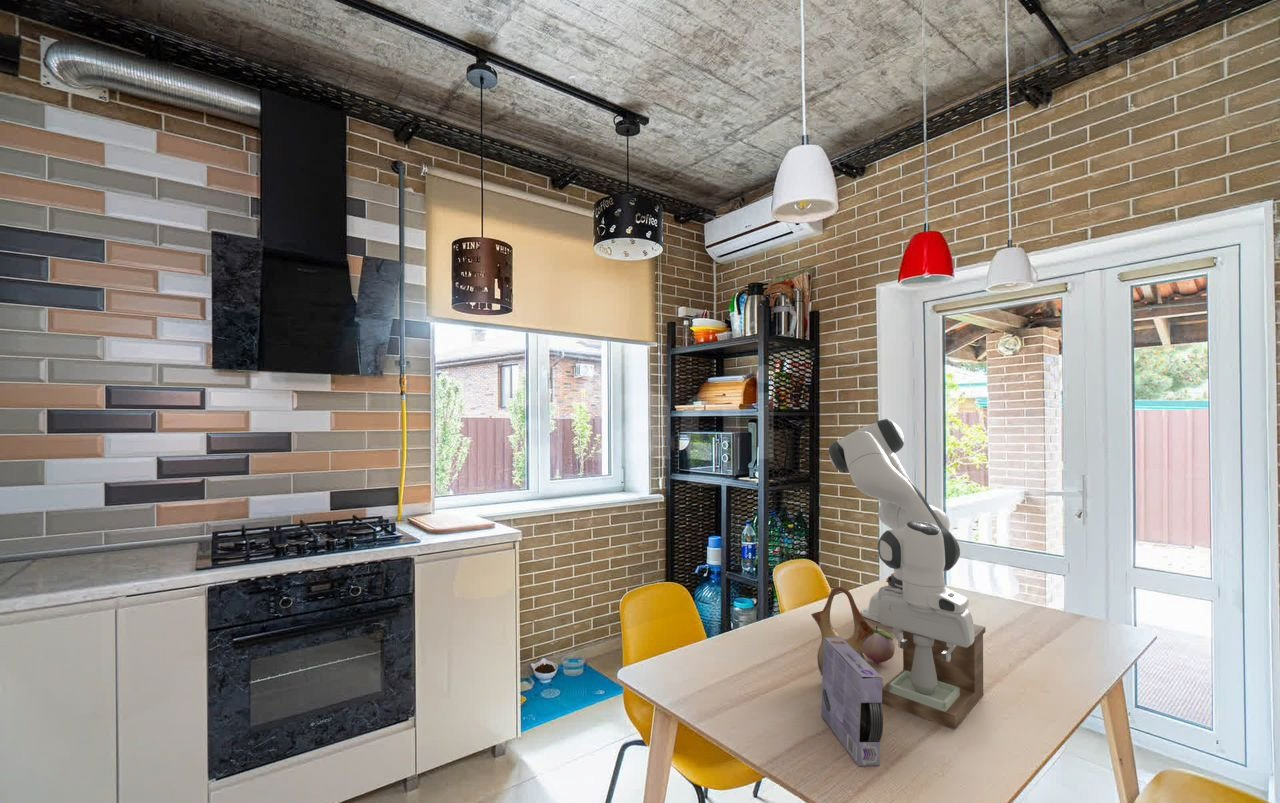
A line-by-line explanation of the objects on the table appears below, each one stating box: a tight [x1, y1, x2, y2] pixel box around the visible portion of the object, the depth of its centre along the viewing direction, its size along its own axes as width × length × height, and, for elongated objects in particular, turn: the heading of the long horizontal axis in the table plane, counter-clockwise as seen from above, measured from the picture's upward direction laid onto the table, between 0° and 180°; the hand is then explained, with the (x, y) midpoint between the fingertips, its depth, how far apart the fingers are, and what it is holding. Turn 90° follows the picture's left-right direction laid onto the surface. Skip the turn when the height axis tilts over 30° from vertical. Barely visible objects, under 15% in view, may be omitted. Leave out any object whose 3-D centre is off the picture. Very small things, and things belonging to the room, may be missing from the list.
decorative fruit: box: [862, 625, 896, 664], centre depth 152 cm, size 9×8×10 cm
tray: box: [889, 670, 960, 712], centre depth 130 cm, size 12×10×2 cm
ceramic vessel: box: [811, 586, 875, 678], centre depth 138 cm, size 16×9×25 cm, turn 40°
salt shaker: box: [910, 634, 938, 695], centre depth 130 cm, size 6×6×13 cm
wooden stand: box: [881, 623, 986, 730], centre depth 134 cm, size 17×22×16 cm
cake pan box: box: [820, 638, 884, 767], centre depth 116 cm, size 19×5×18 cm, turn 5°
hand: (923, 654), depth 130 cm, fingers open, 8 cm apart
